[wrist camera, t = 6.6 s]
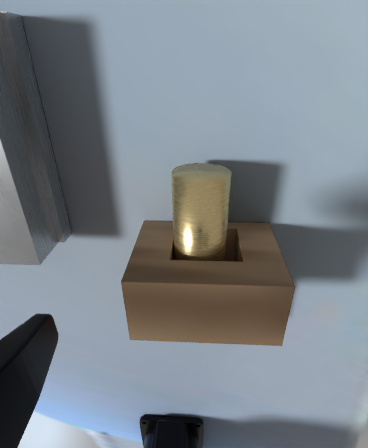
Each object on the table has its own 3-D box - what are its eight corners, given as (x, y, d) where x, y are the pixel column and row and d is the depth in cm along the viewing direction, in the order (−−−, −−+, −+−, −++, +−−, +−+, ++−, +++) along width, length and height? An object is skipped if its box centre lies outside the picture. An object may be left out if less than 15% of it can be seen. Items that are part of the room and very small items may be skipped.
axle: (224, 304, 20) (215, 338, 18) (183, 295, 21) (169, 327, 19) (235, 165, 16) (225, 186, 13) (181, 161, 16) (162, 179, 14)
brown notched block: (255, 313, 22) (271, 391, 17) (152, 310, 23) (137, 384, 18) (269, 222, 18) (295, 286, 13) (144, 220, 19) (121, 281, 14)
